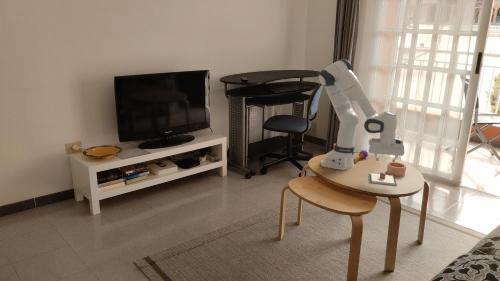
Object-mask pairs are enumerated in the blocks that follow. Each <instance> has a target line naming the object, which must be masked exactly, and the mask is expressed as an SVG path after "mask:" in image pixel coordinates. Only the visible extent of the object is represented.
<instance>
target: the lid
mask: <svg viewBox="0 0 500 281" xmlns="http://www.w3.org/2000/svg"><path fill="white" fill-rule="evenodd" d="M370 174H371V183H379V184H388V185H394V184H395V183H394V179H393V177H394V176H392V175H389V174H387V172H384V171H383V172H382V171H381V172H380V173H370ZM371 183H370V184H371ZM379 184H378V185H379ZM388 185H387V186H388Z"/></svg>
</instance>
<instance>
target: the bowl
mask: <svg viewBox="0 0 500 281" xmlns="http://www.w3.org/2000/svg"><path fill="white" fill-rule="evenodd" d="M406 170H407V165H406V164H404V163H402V162H396V161H395V162H392V161H389V162H387V166H386V174H387V175H392V176H393V177H404V176H405V175H406V172H407V171H406Z"/></svg>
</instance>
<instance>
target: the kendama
mask: <svg viewBox="0 0 500 281" xmlns="http://www.w3.org/2000/svg"><path fill="white" fill-rule="evenodd" d="M368 153H369V151H367V150H365V149H363V150H361V151H359V154H358V156H357V157H355V158H353V161H354V165H355V164H356V163H357V162H358V161H359V160H360V159H363V160H364V159H366V158H368V156H369V154H368Z"/></svg>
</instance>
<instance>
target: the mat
mask: <svg viewBox="0 0 500 281" xmlns="http://www.w3.org/2000/svg"><path fill="white" fill-rule="evenodd" d="M393 179H394V183H395V184H394V185H388V184H379V183H371V173H368V184H372V185H379V186H388V187H389V186H390V187H398V185H397V180H396V176H393Z"/></svg>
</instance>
